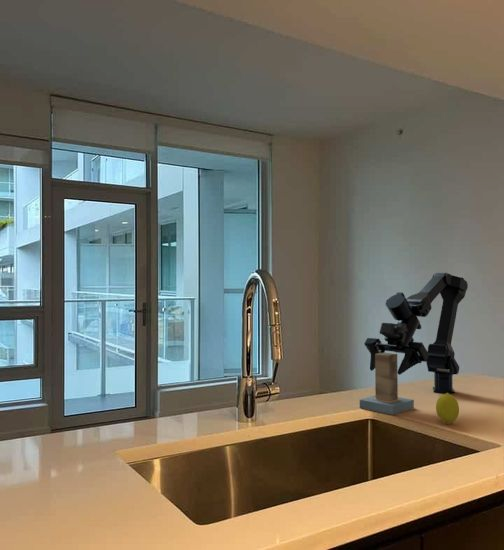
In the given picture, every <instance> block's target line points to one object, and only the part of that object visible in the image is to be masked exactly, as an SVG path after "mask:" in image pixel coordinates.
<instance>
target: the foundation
mask: <svg viewBox="0 0 504 550" xmlns="http://www.w3.org/2000/svg"><path fill="white" fill-rule="evenodd" d="M412 408H413V409H414V408H415V399H412V398H405V397H401V396H398V399H396V400H393V401H384V400H378V399H376V394H375V395H371V396H369V397H365V398H361V399H359V409H362V410H363V409H364V410H367V411H373V412H376V413H382V414H386V415H387V414H388V415H391V416H394V415H398V414H401V413H403V412H405V411H410V410H412ZM409 409H410V410H409Z"/></svg>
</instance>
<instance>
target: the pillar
mask: <svg viewBox="0 0 504 550" xmlns="http://www.w3.org/2000/svg"><path fill="white" fill-rule="evenodd" d="M374 370H375V371H374V372H375V373H374V375H375V379H374V380H375V381H374V383H375V389H374V390H375V395H376V399H378V400H384V401H393V400H396V399H398V397H399V395H398V394H399V393H398V392H399V391H398V389H399V388H398V387H399V386H398V385H399V384H398V380H399V379H398V353H392V352H385V353H378V354H375V369H374Z"/></svg>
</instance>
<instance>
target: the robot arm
mask: <svg viewBox="0 0 504 550" xmlns="http://www.w3.org/2000/svg"><path fill="white" fill-rule="evenodd" d="M468 285H469V283H468V281H466V280H465V278H464V277H463V276H462V277H459V276H458V275H457V276H455V275H452V274H450V273H448V272H436V273H434V274H432V277H431V279H430V280H429V281H428V282H427V283H426V284H425V285H424V286H423V287H422V288H421V290H420V291H419V292H417V293H415V294H411V295H410V296H408V297H407V298H406V296H405V294H404V292H402V291H401V292H400V291H399V292H396V294H393V295H391V296H390V297H388V298H387V299H386V301H385V306H386V308H387V310H388V312H389V314H390V315H391V316H392V318H393V319H394V320H396V321H398V322H397V323H394V322H393V323H391V322H381V325H380V329H379V334H380V335H382V336H384V340H385V342H387V343H385V342H384V343H382V341H381V339H380V338H376V337H375V338H373V337H367V338H366V340H365V341H364V343H363V344H364V346H365V347H366V349H367V350H368V352H369V354H370V362H369V363H370V364H369V370H370V371H374V370H375V354H378V353H386V351H387V352H394V353H395V354H404V357H403V359H402V360H401V363H400V365H399V367H398V368H397V375H398V376H399V375H402V374H403V373H405V372H406V371H407V370H409V369H411V368H413V367H414V366H416V365H418V364H421V363H422V362H425V363H426V367H427V371H428V372H429V373H430V372H432V373H433V375H434V376H433V377H434V379H433V381H434V384H433V385H434V386H432V391H433V393H443V394H446V393H449V394H455V392H456V391H455V389H454V386H453V384H454V383H453V382H454V381H453V380H454V379H453V375H458V374H459V372H460V365H459V364H458V362H457V360H456V358H455V351H454V349H453V346H452V340H453V335H454V329H455V323H456V317H457V312H458V307H459V305H460V303H461V301H462V300H463V299H464V298H465V297H466V293H467V290H468V288H469V287H468ZM439 295H440V296H441V299H442V304H441V309H440V310H441V312H440V315H439V321H438V326H437V333H436V337H435V341H434V342H433V343H429V344H428V346H427V348H426V346H425V345H424V343H423V342H420V341H415V340H414V335H415V334H416V333H415V332H416V331H417V330H422V325H421V322H420V320H419V317H421V318H426V317H427V316H428V315H429V313H430V312H431V310H432V302H433V301H434V300H435V299H436V298H437V296H439Z"/></svg>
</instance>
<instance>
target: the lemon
mask: <svg viewBox="0 0 504 550" xmlns="http://www.w3.org/2000/svg"><path fill="white" fill-rule="evenodd" d="M435 412H436V415H437V416H438V418H439V419H440V420H441V421H442V422H444V423H445V425H450V424H452V422H453V423H454V422H455V421H456V420H457V419H458V417H459V413H460V406H459V402H458V400H457V399H456V397H455V396H453V395H452V394H451V393H443V394H442V395H440V396H439V397H438V399H437V400H436V405H435Z"/></svg>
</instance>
